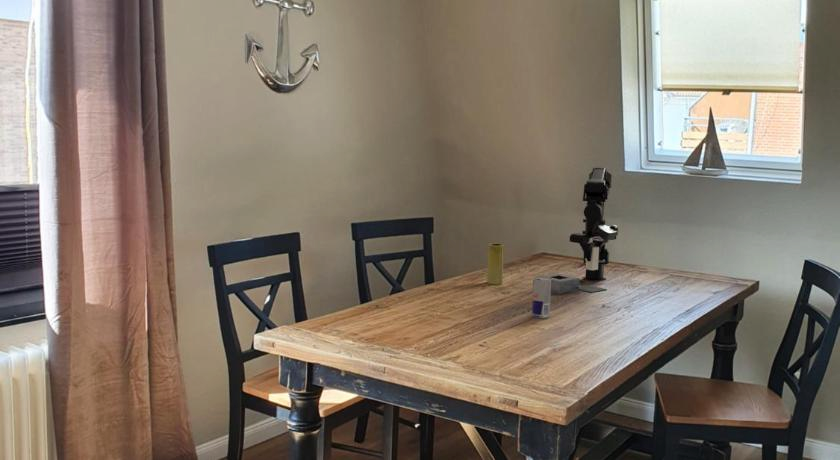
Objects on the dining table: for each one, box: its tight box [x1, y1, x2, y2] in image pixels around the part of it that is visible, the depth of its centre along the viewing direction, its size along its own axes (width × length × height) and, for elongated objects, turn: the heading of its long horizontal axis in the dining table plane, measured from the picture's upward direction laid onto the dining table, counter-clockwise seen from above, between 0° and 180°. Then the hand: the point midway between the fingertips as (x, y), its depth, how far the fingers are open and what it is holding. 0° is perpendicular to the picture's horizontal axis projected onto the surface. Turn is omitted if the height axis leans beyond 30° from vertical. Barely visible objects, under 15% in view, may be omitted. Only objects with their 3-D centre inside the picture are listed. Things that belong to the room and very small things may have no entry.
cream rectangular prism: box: [585, 246, 599, 270], centre depth 303 cm, size 3×3×8 cm
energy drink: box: [531, 276, 552, 320], centre depth 264 cm, size 5×5×12 cm
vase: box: [486, 242, 504, 286], centre depth 311 cm, size 6×6×14 cm
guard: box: [539, 273, 580, 295], centre depth 303 cm, size 10×10×4 cm
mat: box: [579, 284, 608, 294], centre depth 304 cm, size 8×8×1 cm
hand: (592, 260), depth 303 cm, fingers closed on cream rectangular prism, 3 cm apart
